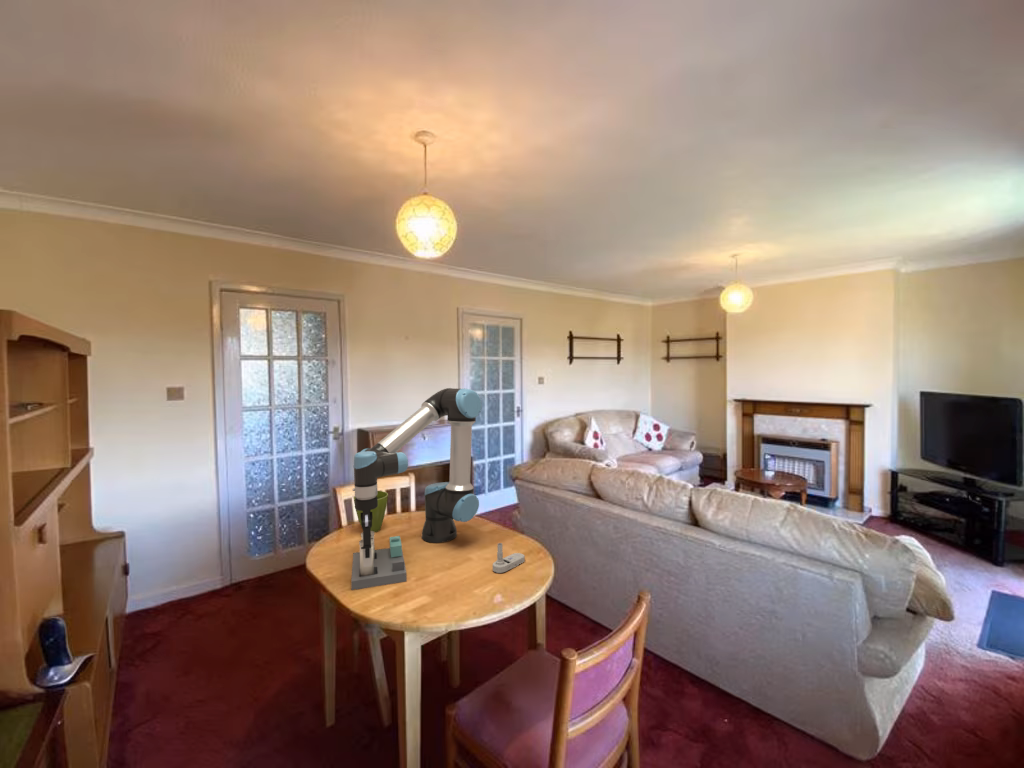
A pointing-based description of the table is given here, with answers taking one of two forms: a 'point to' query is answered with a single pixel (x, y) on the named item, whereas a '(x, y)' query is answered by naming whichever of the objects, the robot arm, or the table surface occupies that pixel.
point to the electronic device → (507, 561)
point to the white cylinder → (373, 543)
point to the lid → (395, 546)
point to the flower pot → (376, 511)
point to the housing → (379, 570)
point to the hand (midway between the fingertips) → (367, 563)
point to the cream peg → (363, 570)
